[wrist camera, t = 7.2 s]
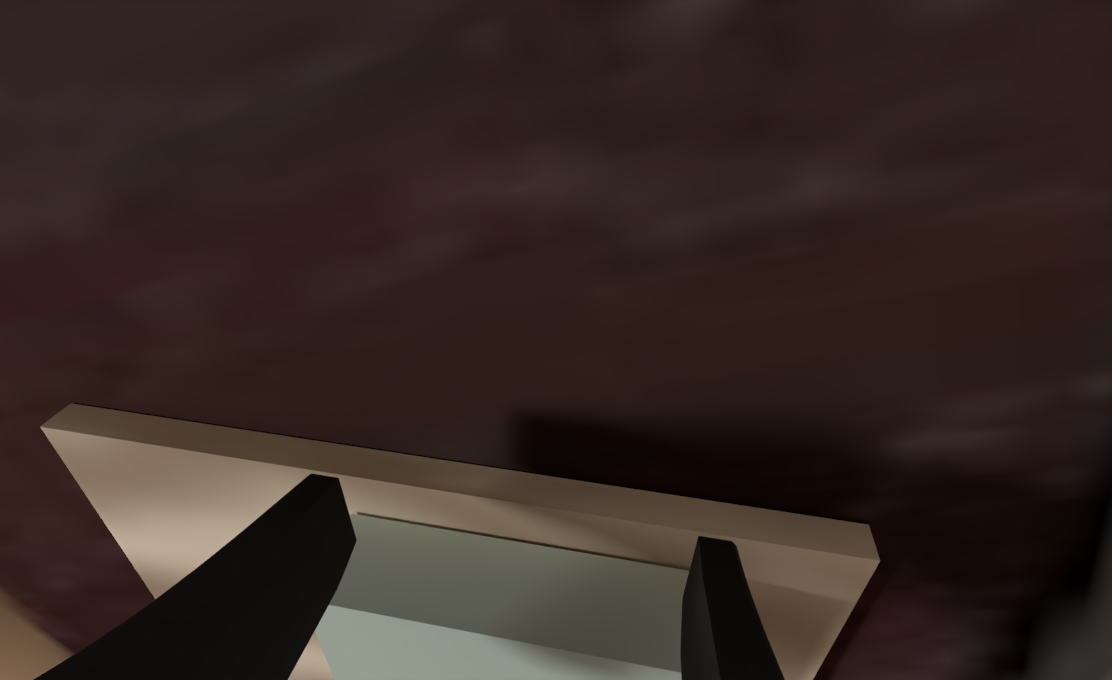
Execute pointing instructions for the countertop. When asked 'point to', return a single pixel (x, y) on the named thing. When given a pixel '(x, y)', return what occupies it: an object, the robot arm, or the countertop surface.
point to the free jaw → (496, 610)
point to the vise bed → (446, 515)
